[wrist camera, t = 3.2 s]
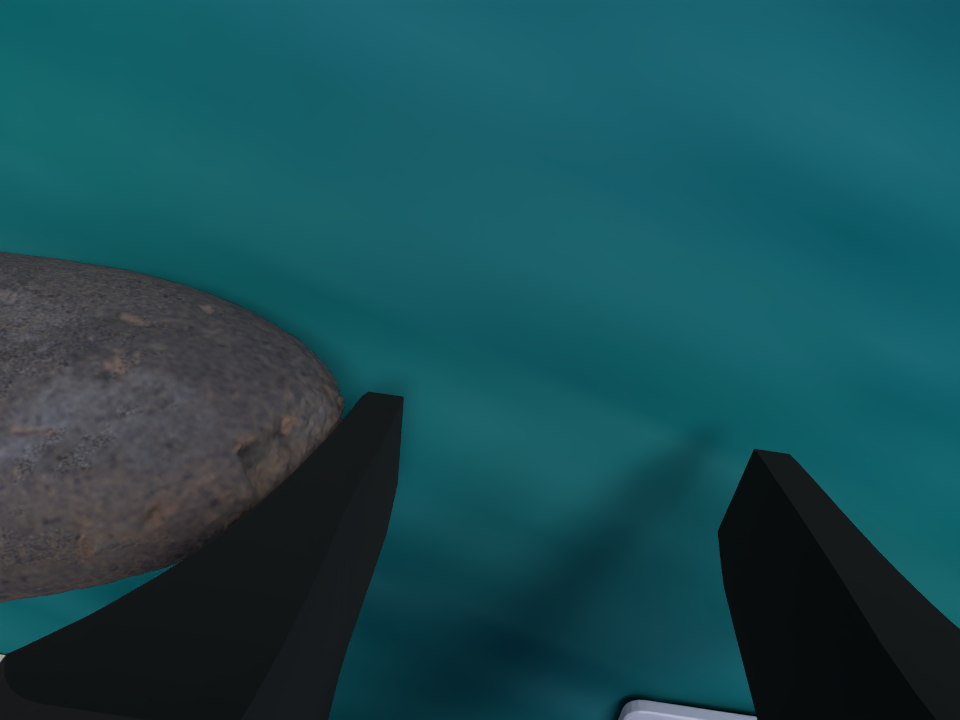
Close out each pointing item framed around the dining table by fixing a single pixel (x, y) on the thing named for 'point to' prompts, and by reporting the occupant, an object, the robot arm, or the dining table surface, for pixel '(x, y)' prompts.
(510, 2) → the dining table surface
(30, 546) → the perforated stone tool
